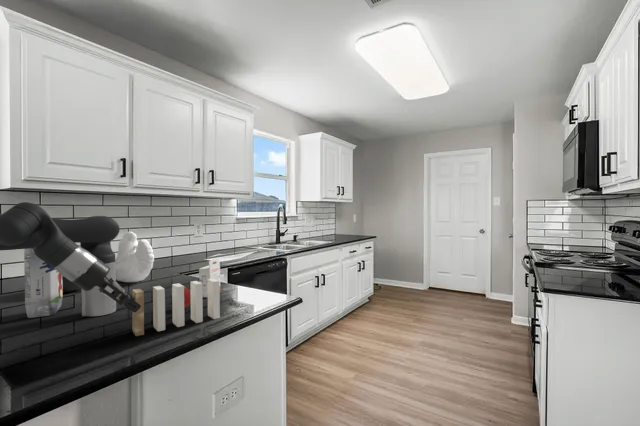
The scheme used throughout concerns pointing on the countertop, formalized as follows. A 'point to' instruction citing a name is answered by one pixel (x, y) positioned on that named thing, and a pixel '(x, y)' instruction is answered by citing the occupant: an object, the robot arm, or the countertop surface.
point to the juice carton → (41, 286)
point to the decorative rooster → (133, 259)
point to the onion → (187, 297)
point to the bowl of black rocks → (68, 285)
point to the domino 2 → (178, 304)
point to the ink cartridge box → (209, 275)
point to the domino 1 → (159, 308)
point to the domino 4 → (213, 298)
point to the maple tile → (138, 313)
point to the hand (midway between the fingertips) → (135, 305)
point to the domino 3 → (196, 301)
